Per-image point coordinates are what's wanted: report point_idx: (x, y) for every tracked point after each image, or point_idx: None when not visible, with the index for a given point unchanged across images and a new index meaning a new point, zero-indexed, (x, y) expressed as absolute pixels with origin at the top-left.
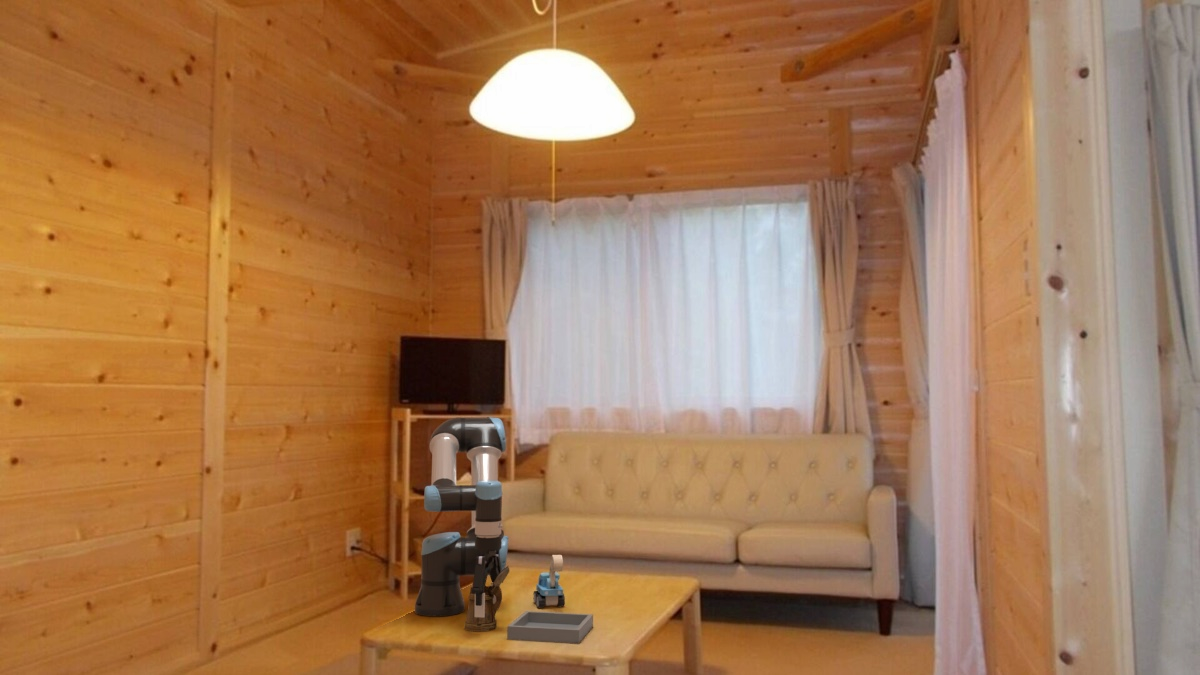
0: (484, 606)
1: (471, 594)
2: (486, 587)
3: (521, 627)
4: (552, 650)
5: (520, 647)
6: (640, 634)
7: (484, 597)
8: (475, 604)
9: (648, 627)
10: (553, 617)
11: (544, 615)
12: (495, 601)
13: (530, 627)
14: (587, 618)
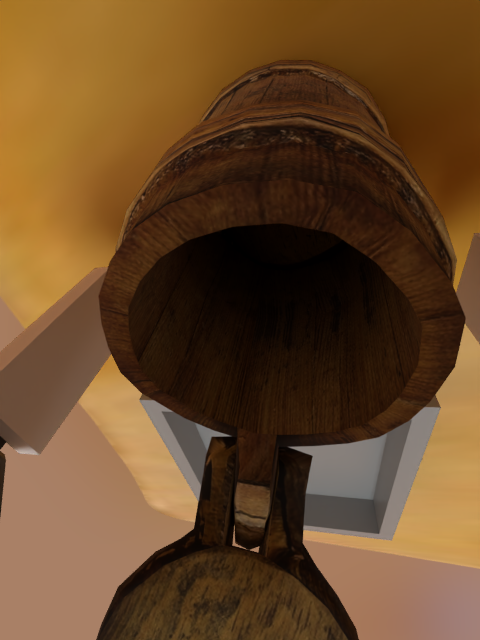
0: (97, 365)
1: (118, 242)
2: (398, 384)
3: (160, 432)
4: (139, 455)
5: (114, 406)
6: (329, 542)
7: (54, 420)
8: (43, 323)
9: (393, 553)
10: (390, 465)
11: (397, 451)
12: (478, 301)
13: (169, 451)
14: (335, 531)
